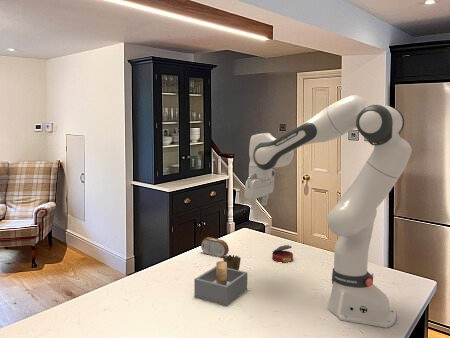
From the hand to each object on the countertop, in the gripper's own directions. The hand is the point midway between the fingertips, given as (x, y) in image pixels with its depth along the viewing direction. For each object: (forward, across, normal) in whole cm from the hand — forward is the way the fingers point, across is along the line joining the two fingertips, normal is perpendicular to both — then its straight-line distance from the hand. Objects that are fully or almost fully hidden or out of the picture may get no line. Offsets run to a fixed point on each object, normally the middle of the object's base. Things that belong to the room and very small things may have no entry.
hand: (259, 207), depth 158 cm
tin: (+31, +17, +32) cm, 48 cm away
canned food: (+32, +29, +1) cm, 43 cm away
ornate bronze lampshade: (+31, -1, +12) cm, 34 cm away
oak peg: (+31, -18, +7) cm, 37 cm away
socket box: (+31, -18, +7) cm, 37 cm away
